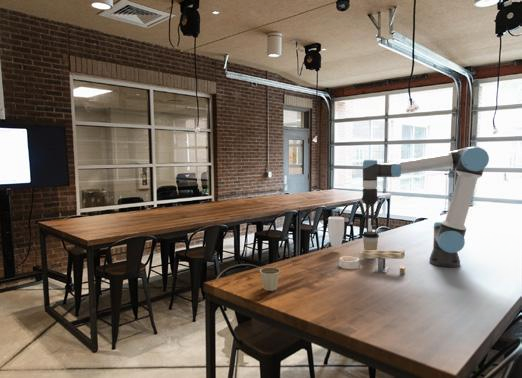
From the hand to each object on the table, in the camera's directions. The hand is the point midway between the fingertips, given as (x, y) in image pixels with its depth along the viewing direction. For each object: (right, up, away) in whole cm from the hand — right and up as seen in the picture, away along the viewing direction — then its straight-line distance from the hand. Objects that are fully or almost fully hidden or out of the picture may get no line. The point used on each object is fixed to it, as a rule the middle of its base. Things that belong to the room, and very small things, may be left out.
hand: (369, 230), depth 199 cm
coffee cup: (+5, -18, +15) cm, 23 cm away
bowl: (-11, -19, -1) cm, 22 cm away
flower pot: (-56, -23, -32) cm, 68 cm away
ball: (-13, -17, 0) cm, 21 cm away
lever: (+5, -12, -6) cm, 15 cm away
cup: (-13, -17, +29) cm, 36 cm away
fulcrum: (+7, -20, -10) cm, 24 cm away
